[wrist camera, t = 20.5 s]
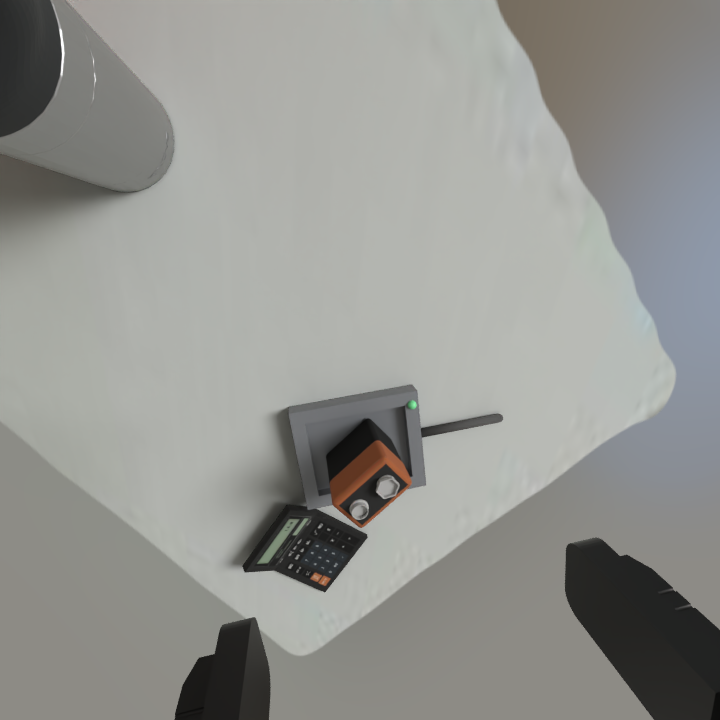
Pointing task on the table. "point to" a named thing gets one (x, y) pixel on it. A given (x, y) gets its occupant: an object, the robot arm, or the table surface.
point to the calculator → (306, 547)
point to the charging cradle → (342, 415)
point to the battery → (365, 473)
